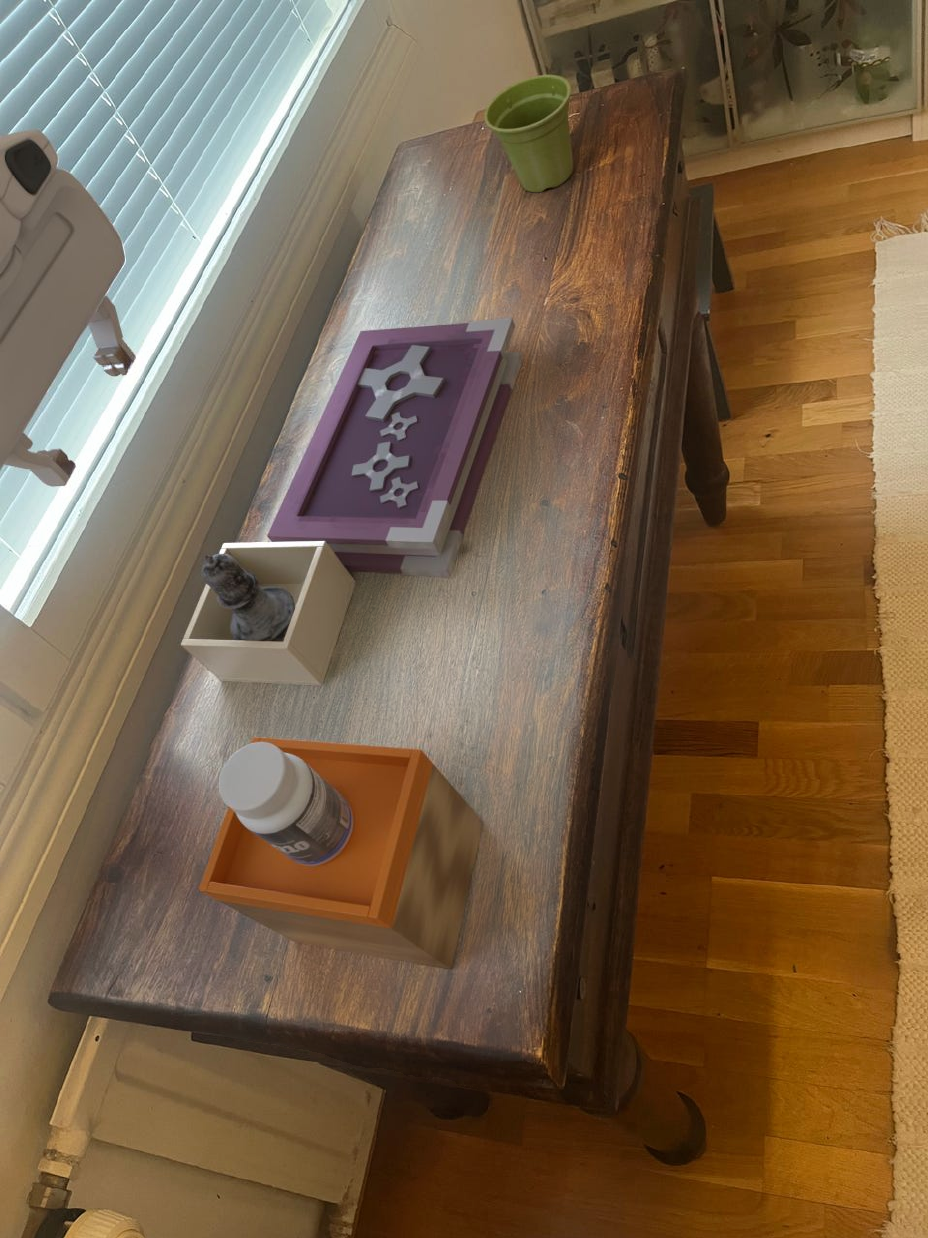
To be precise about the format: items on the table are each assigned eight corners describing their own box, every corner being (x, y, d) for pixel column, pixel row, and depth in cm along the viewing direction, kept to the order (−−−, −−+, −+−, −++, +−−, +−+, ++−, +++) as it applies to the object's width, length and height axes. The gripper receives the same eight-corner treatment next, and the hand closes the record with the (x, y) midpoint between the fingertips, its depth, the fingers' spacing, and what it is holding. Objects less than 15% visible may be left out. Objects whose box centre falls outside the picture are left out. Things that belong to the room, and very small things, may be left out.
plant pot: (605, 155, 103) (588, 77, 96) (554, 209, 100) (533, 134, 94) (541, 144, 108) (520, 71, 101) (491, 196, 106) (467, 124, 99)
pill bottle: (272, 856, 56) (196, 804, 50) (305, 785, 58) (236, 726, 52) (336, 877, 54) (265, 826, 47) (368, 803, 56) (304, 744, 49)
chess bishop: (286, 677, 77) (207, 597, 67) (239, 654, 80) (157, 575, 70) (326, 620, 79) (255, 535, 69) (278, 600, 82) (203, 516, 72)
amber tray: (392, 928, 52) (377, 918, 50) (216, 900, 57) (197, 890, 55) (433, 763, 57) (421, 749, 55) (268, 750, 61) (253, 736, 60)
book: (453, 577, 77) (432, 542, 73) (292, 569, 84) (265, 536, 80) (527, 358, 89) (512, 317, 85) (380, 366, 96) (360, 329, 92)
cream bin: (322, 686, 76) (286, 648, 71) (220, 680, 80) (180, 645, 75) (356, 582, 81) (325, 540, 76) (258, 582, 85) (223, 542, 80)
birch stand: (451, 970, 60) (392, 928, 52) (293, 942, 64) (216, 900, 57) (483, 821, 65) (433, 763, 57) (334, 805, 69) (268, 750, 61)
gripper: (-138, 372, 42) (62, 551, 53) (56, 113, 52) (191, 307, 63) (-225, 384, 45) (-17, 552, 56) (-24, 134, 55) (119, 318, 66)
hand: (95, 420), depth 60 cm, fingers open, 8 cm apart
